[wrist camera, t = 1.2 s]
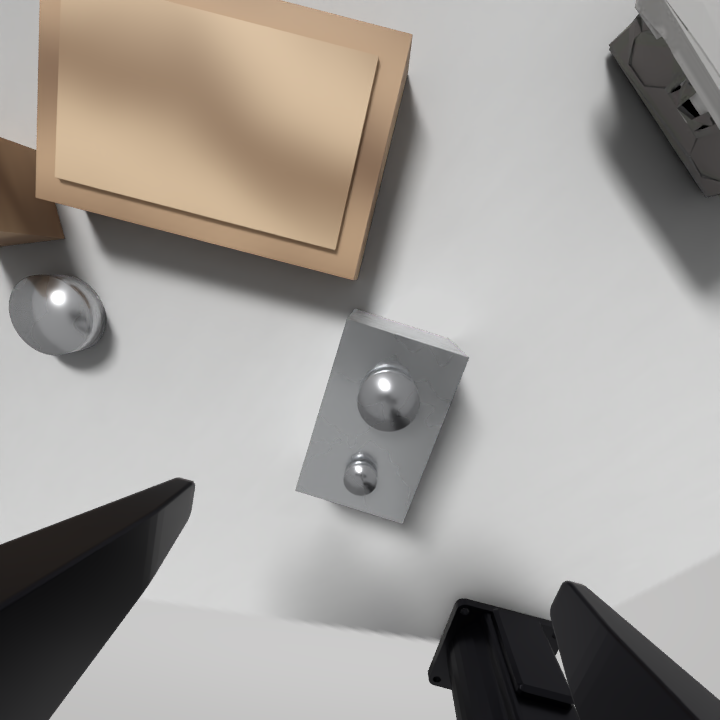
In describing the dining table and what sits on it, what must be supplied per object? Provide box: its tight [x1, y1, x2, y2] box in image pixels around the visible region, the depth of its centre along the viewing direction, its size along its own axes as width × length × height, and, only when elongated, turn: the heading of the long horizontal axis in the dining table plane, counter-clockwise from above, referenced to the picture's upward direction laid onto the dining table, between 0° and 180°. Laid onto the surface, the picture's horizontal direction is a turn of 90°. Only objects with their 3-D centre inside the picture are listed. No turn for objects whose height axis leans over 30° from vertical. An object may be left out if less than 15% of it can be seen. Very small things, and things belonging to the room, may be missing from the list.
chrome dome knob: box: [9, 275, 106, 355], centre depth 18 cm, size 4×4×2 cm
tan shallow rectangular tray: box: [36, 0, 413, 280], centre depth 15 cm, size 9×14×3 cm, turn 76°
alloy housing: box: [295, 309, 469, 524], centre depth 16 cm, size 8×5×5 cm, turn 163°
